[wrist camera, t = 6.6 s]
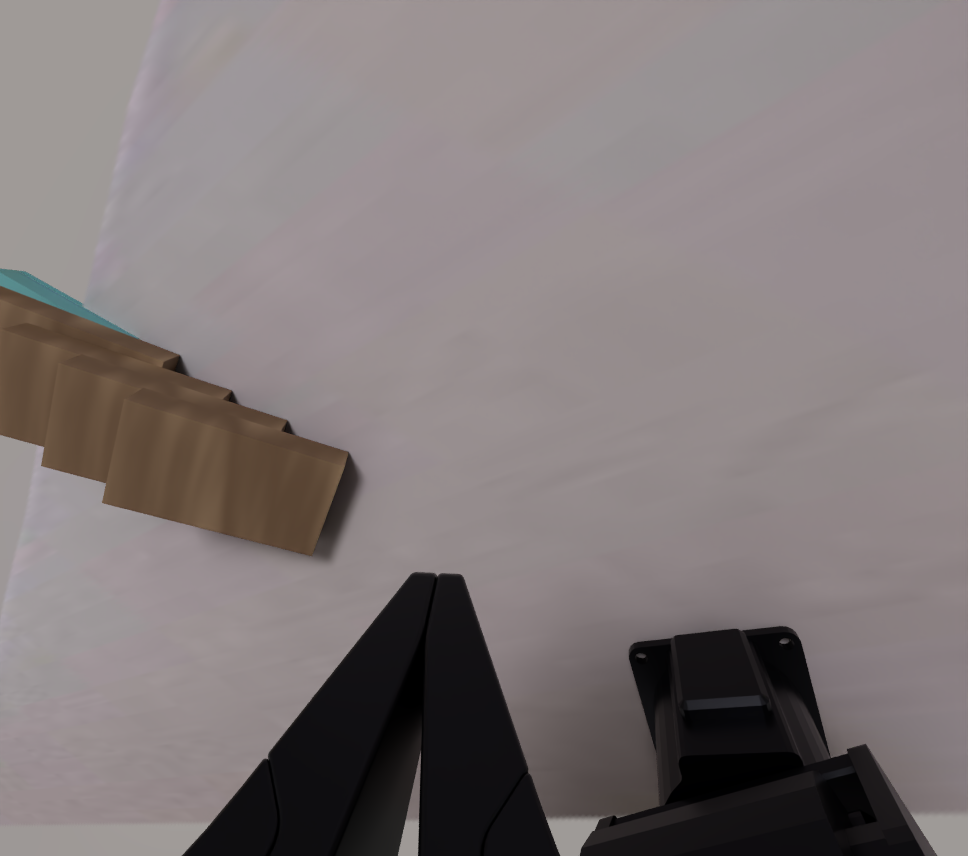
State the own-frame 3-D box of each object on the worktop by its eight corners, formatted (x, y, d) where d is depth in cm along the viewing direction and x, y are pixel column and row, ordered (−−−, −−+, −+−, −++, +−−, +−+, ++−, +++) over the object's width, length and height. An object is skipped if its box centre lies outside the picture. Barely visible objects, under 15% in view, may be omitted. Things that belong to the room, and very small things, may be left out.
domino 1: (344, 466, 22) (124, 399, 20) (311, 555, 24) (101, 503, 21) (348, 452, 24) (143, 387, 22) (317, 537, 25) (121, 485, 23)
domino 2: (279, 432, 23) (58, 362, 21) (251, 521, 24) (41, 466, 22) (287, 420, 25) (81, 354, 22) (260, 504, 26) (63, 451, 24)
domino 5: (116, 338, 25) (-9, 267, 27) (98, 425, 27) (-20, 353, 28) (145, 338, 27) (25, 271, 28) (126, 420, 28) (13, 352, 30)
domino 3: (221, 400, 24) (0, 328, 21) (196, 488, 25) (-14, 431, 23) (231, 390, 25) (26, 322, 23) (207, 474, 27) (11, 418, 24)
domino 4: (163, 361, 24) (-46, 281, 22) (139, 449, 26) (-60, 381, 24) (179, 355, 26) (-16, 279, 24) (156, 438, 27) (-30, 373, 25)
